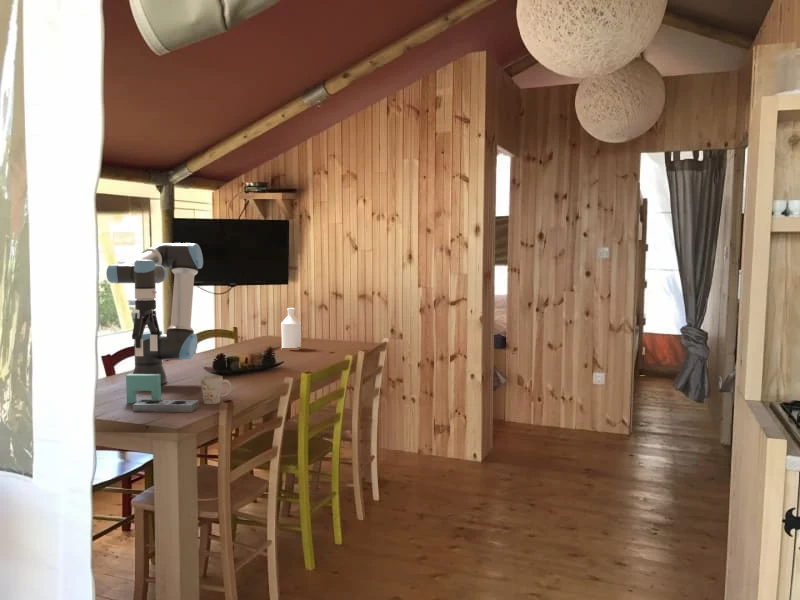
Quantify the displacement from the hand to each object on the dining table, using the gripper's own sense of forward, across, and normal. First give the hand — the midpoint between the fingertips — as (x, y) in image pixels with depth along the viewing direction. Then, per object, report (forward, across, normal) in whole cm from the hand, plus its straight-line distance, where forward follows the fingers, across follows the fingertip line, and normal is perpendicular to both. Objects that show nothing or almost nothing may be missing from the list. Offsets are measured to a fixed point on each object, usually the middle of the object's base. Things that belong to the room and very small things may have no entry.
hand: (146, 353), depth 255 cm
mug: (+19, +2, -27) cm, 33 cm away
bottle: (+18, +138, -30) cm, 142 cm away
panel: (+19, -1, +1) cm, 19 cm away
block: (+19, -11, -12) cm, 25 cm away
